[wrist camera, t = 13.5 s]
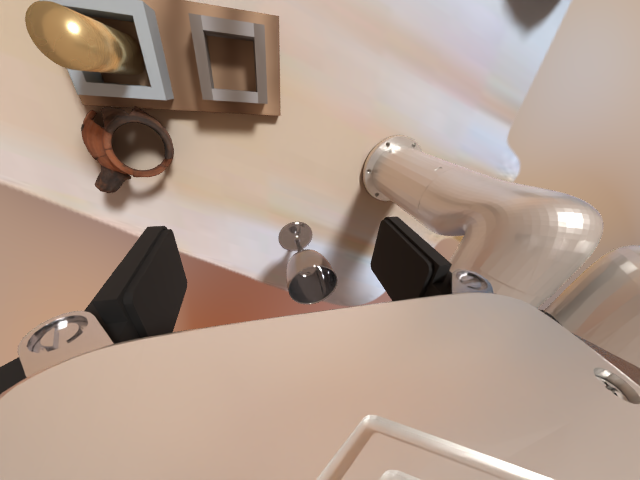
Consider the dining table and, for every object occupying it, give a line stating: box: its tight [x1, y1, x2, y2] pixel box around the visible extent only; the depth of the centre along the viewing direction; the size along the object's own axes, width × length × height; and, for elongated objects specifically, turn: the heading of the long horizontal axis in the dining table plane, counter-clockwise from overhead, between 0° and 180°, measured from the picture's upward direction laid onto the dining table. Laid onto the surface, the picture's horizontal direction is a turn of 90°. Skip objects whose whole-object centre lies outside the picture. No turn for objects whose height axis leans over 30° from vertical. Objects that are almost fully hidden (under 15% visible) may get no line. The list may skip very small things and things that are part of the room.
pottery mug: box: [81, 106, 174, 193], centre depth 32 cm, size 12×10×8 cm
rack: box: [39, 0, 174, 100], centre depth 26 cm, size 8×8×4 cm
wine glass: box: [279, 222, 337, 304], centre depth 43 cm, size 8×8×15 cm
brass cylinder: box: [25, 1, 146, 75], centre depth 23 cm, size 4×4×12 cm
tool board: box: [79, 0, 280, 116], centre depth 28 cm, size 24×11×5 cm, turn 85°
